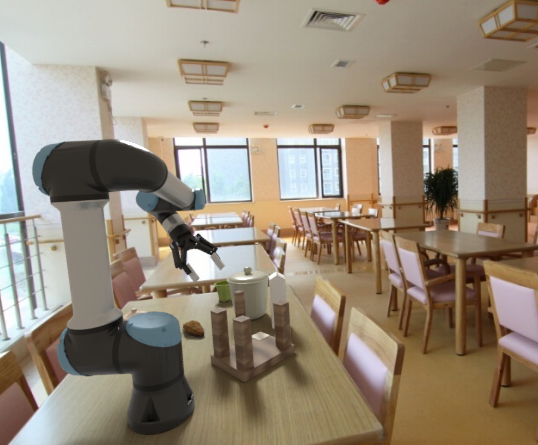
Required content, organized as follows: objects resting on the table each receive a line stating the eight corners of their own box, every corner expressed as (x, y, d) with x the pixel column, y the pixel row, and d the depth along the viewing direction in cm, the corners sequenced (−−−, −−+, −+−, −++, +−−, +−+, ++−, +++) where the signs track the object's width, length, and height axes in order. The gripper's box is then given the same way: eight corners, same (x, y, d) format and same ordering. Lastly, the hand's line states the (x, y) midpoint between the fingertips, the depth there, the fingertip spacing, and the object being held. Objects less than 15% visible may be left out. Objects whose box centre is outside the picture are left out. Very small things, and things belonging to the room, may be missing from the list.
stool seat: (244, 382, 86) (240, 323, 84) (211, 362, 97) (206, 310, 96) (295, 352, 100) (292, 301, 99) (260, 338, 112) (257, 293, 110)
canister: (221, 316, 135) (217, 268, 133) (253, 304, 147) (250, 260, 145) (247, 327, 122) (243, 274, 120) (280, 314, 134) (277, 265, 132)
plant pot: (213, 303, 153) (211, 285, 152) (219, 296, 162) (218, 280, 162) (231, 303, 152) (230, 285, 151) (236, 296, 161) (235, 280, 160)
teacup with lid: (124, 347, 112) (120, 315, 111) (123, 337, 120) (120, 307, 119) (159, 338, 117) (156, 307, 116) (156, 329, 125) (153, 301, 124)
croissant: (176, 331, 123) (175, 319, 123) (191, 325, 128) (190, 313, 127) (194, 341, 113) (193, 327, 113) (210, 334, 118) (209, 321, 118)
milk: (286, 321, 125) (283, 267, 124) (288, 327, 119) (285, 270, 118) (271, 322, 125) (268, 268, 123) (272, 329, 119) (269, 271, 117)
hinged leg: (247, 344, 101) (244, 300, 100) (236, 345, 101) (232, 301, 100) (247, 330, 112) (244, 290, 111) (236, 331, 112) (233, 291, 111)
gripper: (196, 228, 130) (226, 268, 125) (145, 243, 109) (179, 292, 104) (204, 216, 126) (237, 257, 122) (153, 230, 105) (190, 280, 101)
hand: (210, 274), depth 113 cm, fingers open, 13 cm apart
